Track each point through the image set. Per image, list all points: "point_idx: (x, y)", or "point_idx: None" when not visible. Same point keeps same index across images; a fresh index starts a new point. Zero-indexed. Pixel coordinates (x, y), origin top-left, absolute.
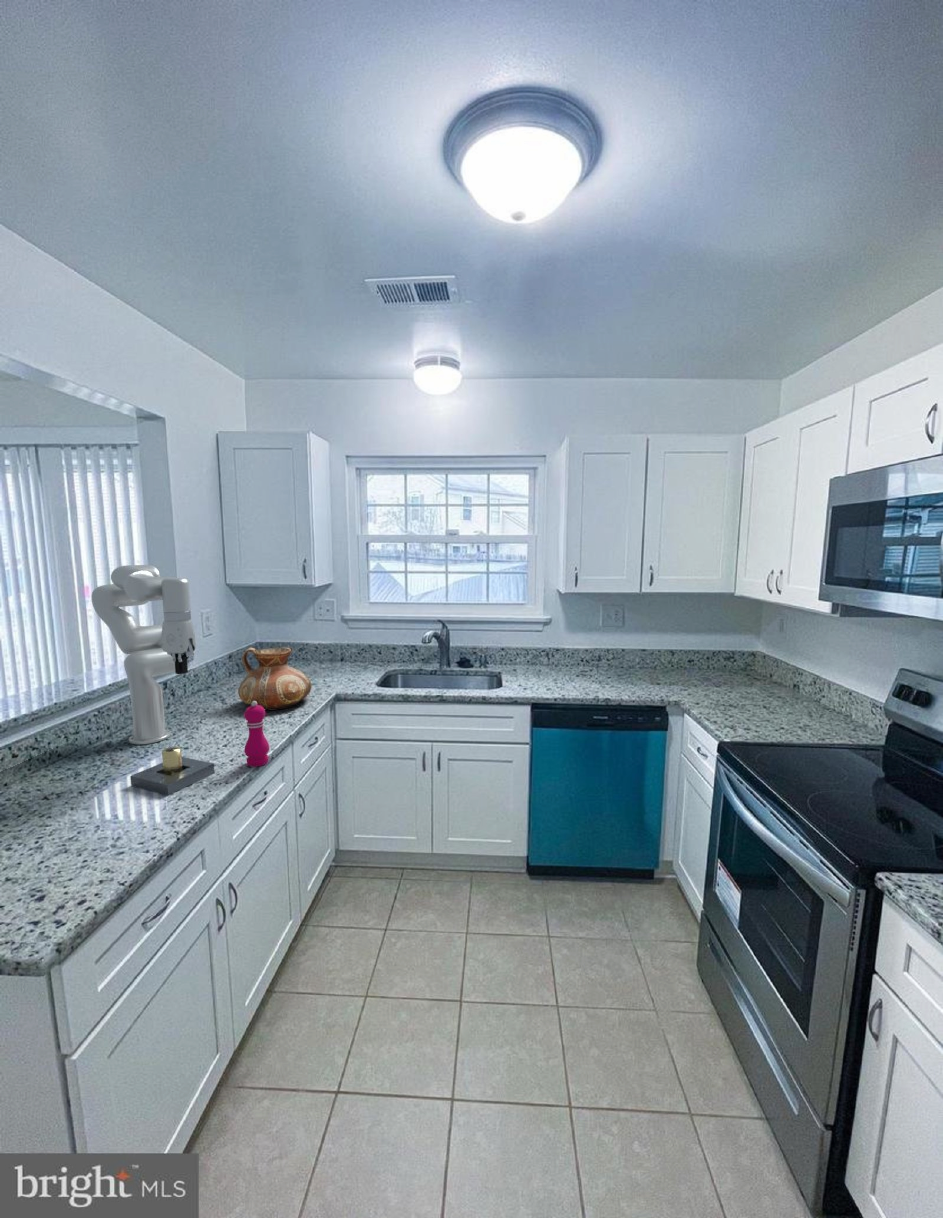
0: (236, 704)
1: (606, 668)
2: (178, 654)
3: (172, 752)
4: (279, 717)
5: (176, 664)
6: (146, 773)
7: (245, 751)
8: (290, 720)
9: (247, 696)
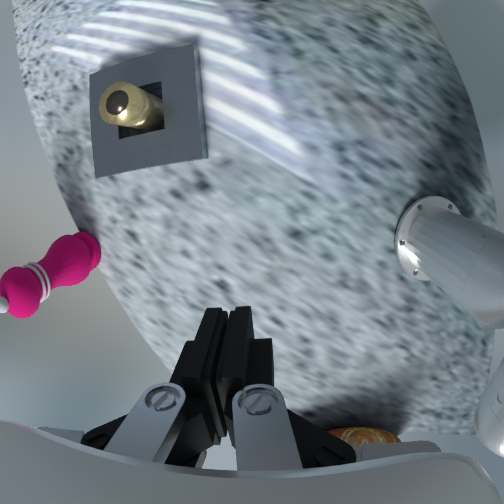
0: (402, 419)
1: None
2: (151, 460)
3: (101, 97)
4: None
5: (223, 362)
6: (173, 67)
7: (69, 237)
8: None
9: (352, 438)
